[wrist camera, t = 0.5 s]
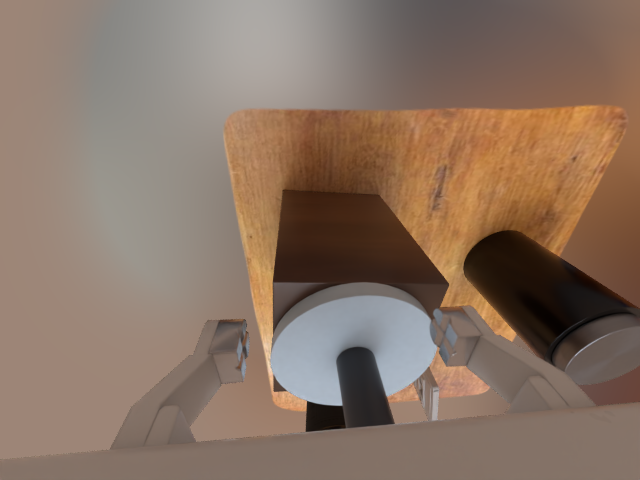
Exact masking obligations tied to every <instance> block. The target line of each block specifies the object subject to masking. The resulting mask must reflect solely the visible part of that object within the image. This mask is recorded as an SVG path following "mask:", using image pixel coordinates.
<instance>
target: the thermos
mask: <svg viewBox="0 0 640 480" xmlns="http://www.w3.org/2000/svg"><path fill="white" fill-rule="evenodd" d="M464 274H465V276H466V278H467V279H468V280H469V281H470V283H471V284H472V285H473V286H474V287H475V288H476V289H477V290H478V291H479V293H480V294H481V295H482V296H483V297H484V298H485V299H486V300H487V301H488V303H489V304H490V305H491V306H492V307H493V308H494V309H495V310H496V311H497V312H498V314H499V315H500V316H501V317H502V318H503V319H504V320H505V321H506V322H507V324H508V325H509V326H510V327H511V328H512V329H513V330H514V331H515V332H516V334H517V335H518V336H519V337H520V338H521V339H522V340H523V341H524V342H525V344H527V346H528V347H529V348H530V349H531V350H532V351H533V352H534V353H535V355H536V356H537V357H539V358H541V359H542V360H544V361H546V362H547V363H549V364H551V365H553V366H554V367H556V368H558V369H560V370H561V371H563V372H565V373H566V374H567V375H568V376H569V377H570V378H571V379H572V380H573V381H574V382H575V383H576V384H580V385H588V384H596V383H601V382H604V381H608V380H611V379H614V378H616V377H619V376H621V375H623V374H625V373H627V372H629V371H631V370H633V369H635V368H636V367H638V366H639V365H640V308H638V307H637V306H635V305H633V304H632V303H630V302H629V301H627V300H626V299H624V298H623V297H621V296H619V295H618V294H616V293H615V292H613V291H612V290H610V289H608V288H607V287H605V286H603V285H602V284H601V283H599V282H598V281H596V280H594V279H593V278H591V277H590V276H588V275H586V274H585V273H584V272H582V271H580V270H579V269H577V268H576V267H574V266H573V265H571V264H569V263H568V262H566V261H565V260H563V259H562V258H560V257H559V256H557V255H555V254H554V253H552V252H551V251H549V250H548V249H546V248H545V247H543V246H541V245H540V244H538V243H537V242H535V241H534V240H532V239H530V238H529V237H527V236H526V235H524V234H523V233H521V232H518V231H512V230H507V231H501V232H497V233H494V234H492V235H490V236H488V237H486V238H484V239H483V240H481V241H480V242H479V243H477V244H476V245H475V246H474V247H473V248H472V250H471V251H470V252H469V254H468V255H467V257H466V260H465V262H464Z"/></svg>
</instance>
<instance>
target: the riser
mask: <svg viewBox="0 0 640 480" xmlns="http://www.w3.org/2000/svg"><path fill="white" fill-rule="evenodd" d="M360 282H368V283H379V284H385V285H389V286H392V287H396V288H398V289H401V290H403V291H405V292H407V293H408V294H410V295H411V296H413V297H414V298H415V299H417V300H418V301H419V302H420V303H421V304H422V306H423V307H424V308H425V310H426V312H427V313H428V315H429V317H430V318H431V320H433V319H434V318H435V317H434V315H433V312H434V310H435V309H436V308H440V306H441V303H442V301H443V298H444V296H445V294H446V291H447V289H448V286H449V283H448V282H447V281H446V279H445V278H444V277H443V276H442V274H441V273H440V272H439V270H438V269H437V268H436V267H435V265H434V264H433V263H432V262H431V260H430V259H429V258H428V256H427V255H426V254H425V253H424V251H423V250H422V249H421V248H420V246H419V245H418V244H417V242H416V241H415V240H414V239H413V237H412V236H411V235H410V234H409V232H408V231H407V230H406V228H405V227H404V226H403V225H402V223H401V222H400V221H399V220H398V218H397V217H396V216H395V214H394V213H393V212H392V211H391V209H390V208H389V207H388V206H387V204H386V203H385V202H384V200H383V199H382V198H381V197H380V195H369V194H350V193H330V192H310V191H291V190H283V195H282V204H281V213H280V222H279V231H278V240H277V249H276V258H275V267H274V276H273V334H274V331H275V329H276V327H277V325H278V323H279V322H280V320H281V319H282V317H283V316H284V315H285V314H286V313H287V312H288V311H289V310H290V309H291V308H292V307H293V306H294V305H296V304H297V303H298V302H300V301H301V300H303V299H305V298H306V297H308V296H310V295H312V294H314V293H316V292H318V291H321V290H324V289H326V288H329V287H333V286H337V285H341V284H348V283H360ZM273 376H274V374H273ZM279 391H287V390H286V389H285V388H283V387H282V386H281V385H280V383H279V382H278V381H277V380H276V378H275V376H274V392H279Z"/></svg>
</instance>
